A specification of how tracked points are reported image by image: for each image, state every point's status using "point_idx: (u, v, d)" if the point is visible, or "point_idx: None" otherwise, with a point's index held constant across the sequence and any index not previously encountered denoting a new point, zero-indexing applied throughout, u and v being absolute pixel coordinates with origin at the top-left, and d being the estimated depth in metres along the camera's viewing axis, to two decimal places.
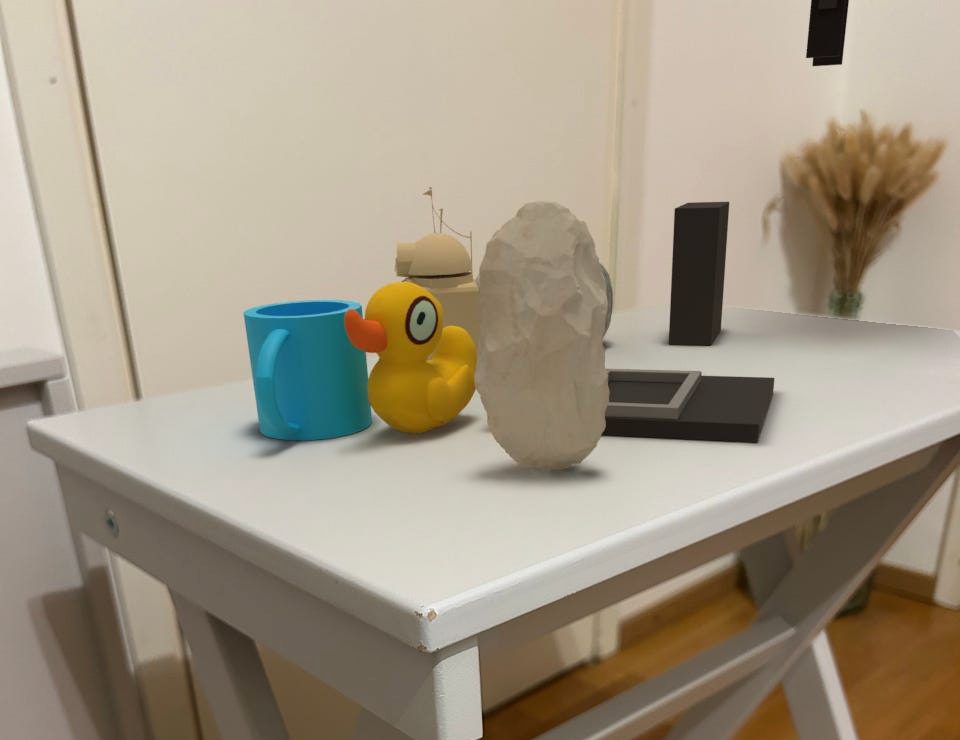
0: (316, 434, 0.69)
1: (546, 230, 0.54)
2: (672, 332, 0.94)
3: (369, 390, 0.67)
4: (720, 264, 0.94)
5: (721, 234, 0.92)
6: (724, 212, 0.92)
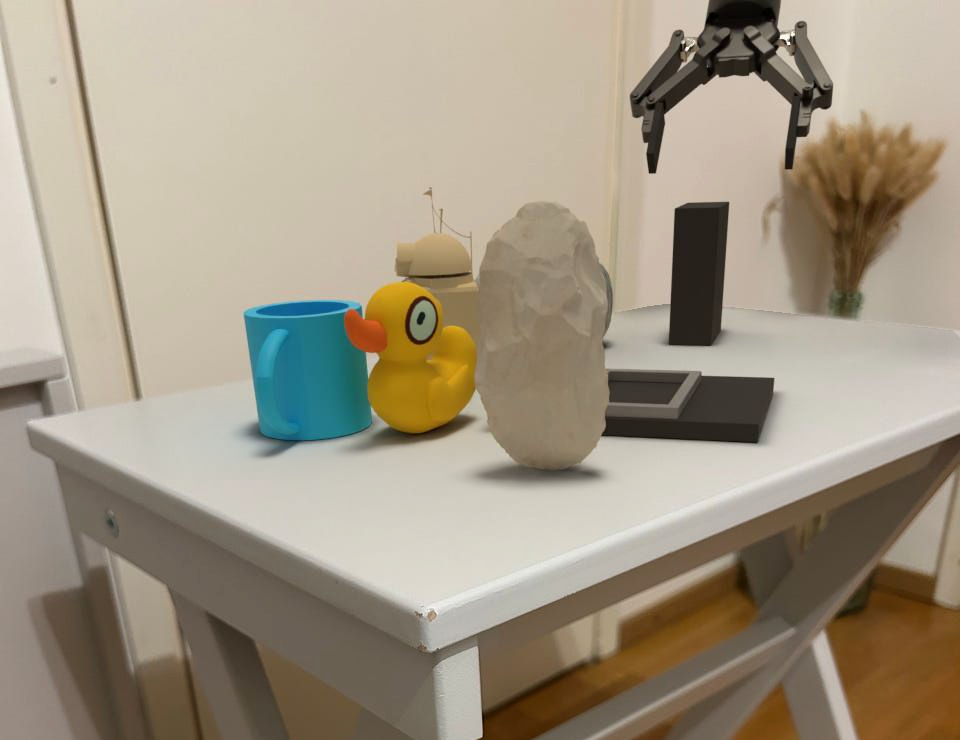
0: (316, 434, 0.69)
1: (546, 230, 0.54)
2: (672, 332, 0.94)
3: (369, 390, 0.67)
4: (720, 264, 0.94)
5: (721, 234, 0.92)
6: (724, 212, 0.92)
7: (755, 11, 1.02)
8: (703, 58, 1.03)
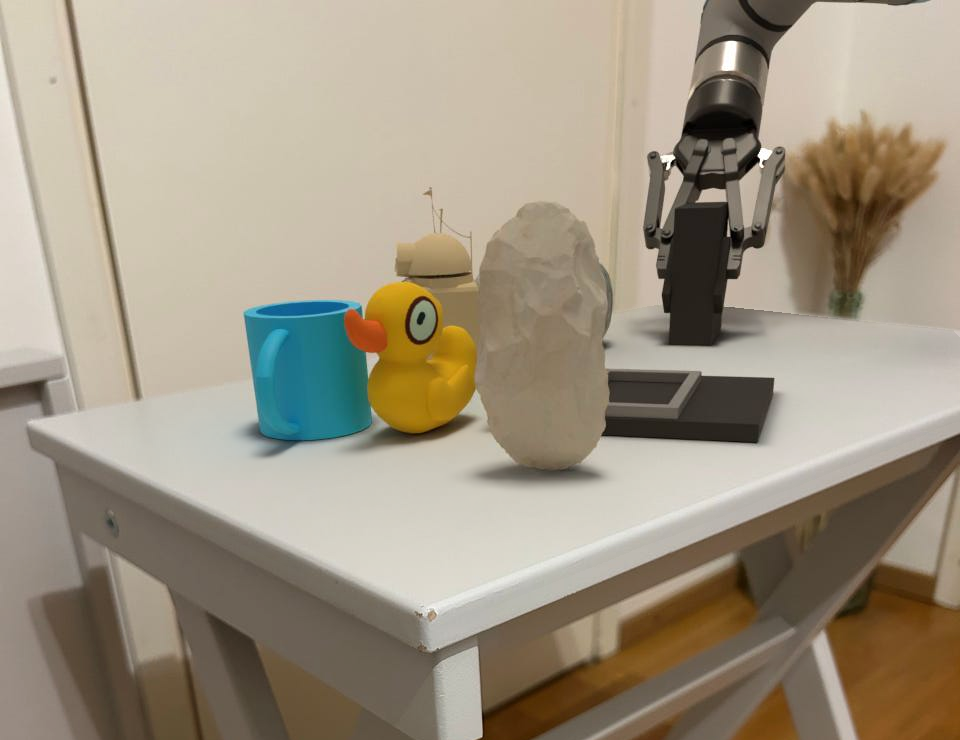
0: (316, 434, 0.69)
1: (546, 230, 0.54)
2: (672, 332, 0.94)
3: (369, 390, 0.67)
4: None
5: (721, 234, 0.92)
6: (724, 212, 0.92)
7: (735, 121, 0.96)
8: (696, 175, 0.96)
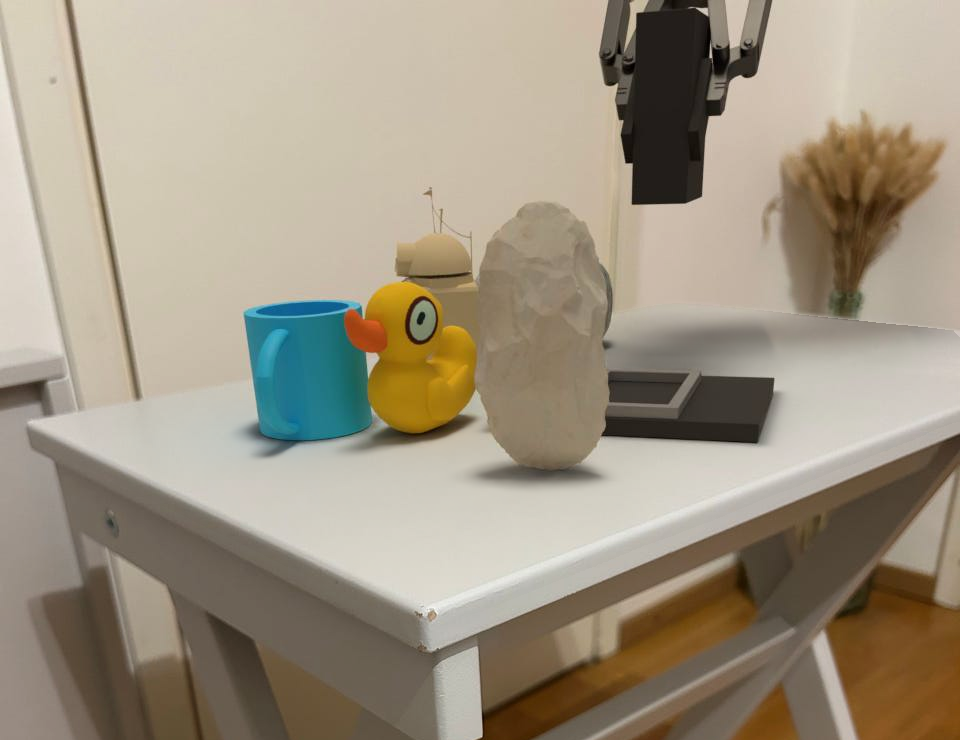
0: (316, 434, 0.69)
1: (546, 230, 0.54)
2: (636, 188, 0.72)
3: (369, 390, 0.67)
4: None
5: (699, 53, 0.70)
6: (703, 25, 0.70)
7: None
8: None
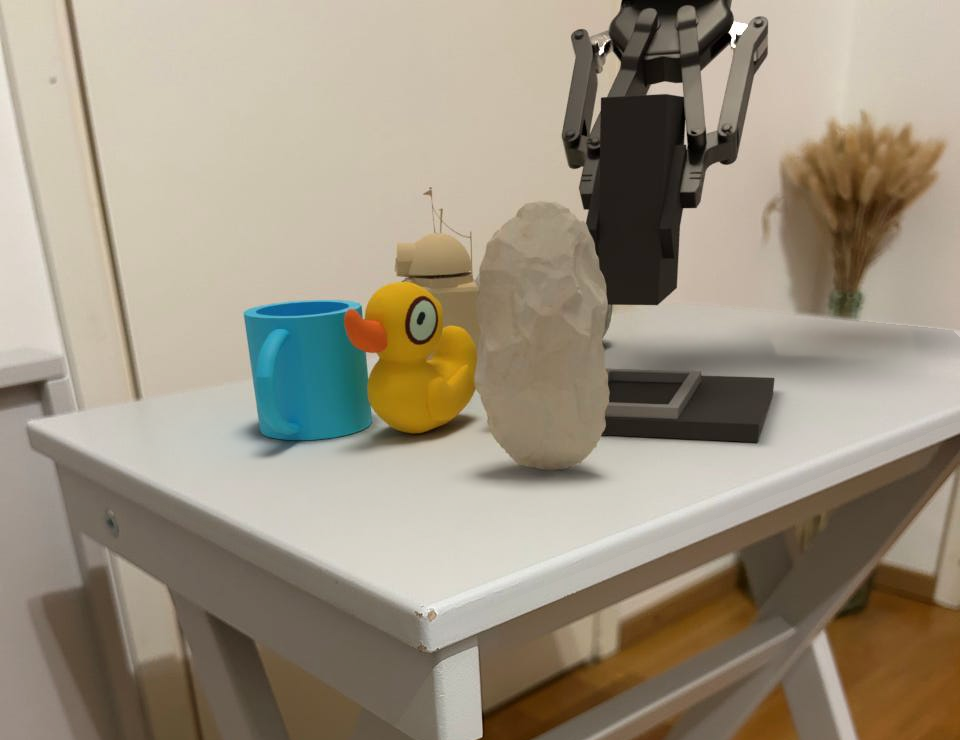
0: (316, 434, 0.69)
1: (546, 230, 0.54)
2: None
3: (369, 390, 0.67)
4: None
5: (672, 140, 0.62)
6: (677, 108, 0.63)
7: None
8: (638, 59, 0.66)
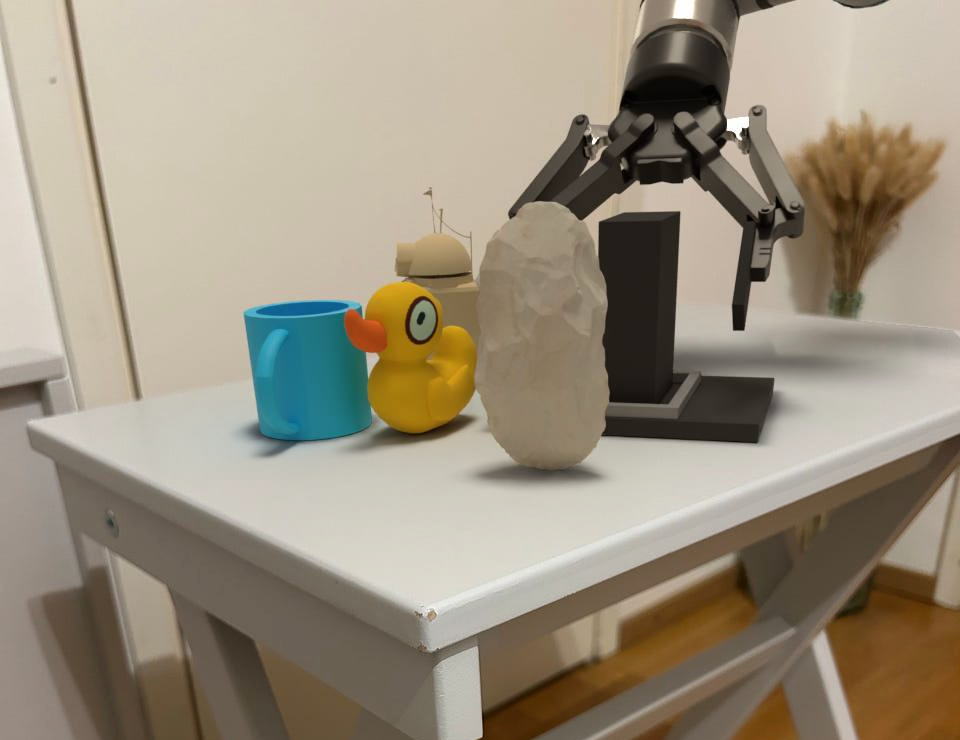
0: (316, 434, 0.69)
1: (546, 230, 0.54)
2: None
3: (369, 390, 0.67)
4: (667, 298, 0.67)
5: (667, 257, 0.65)
6: (671, 226, 0.66)
7: (691, 89, 0.69)
8: (614, 159, 0.69)
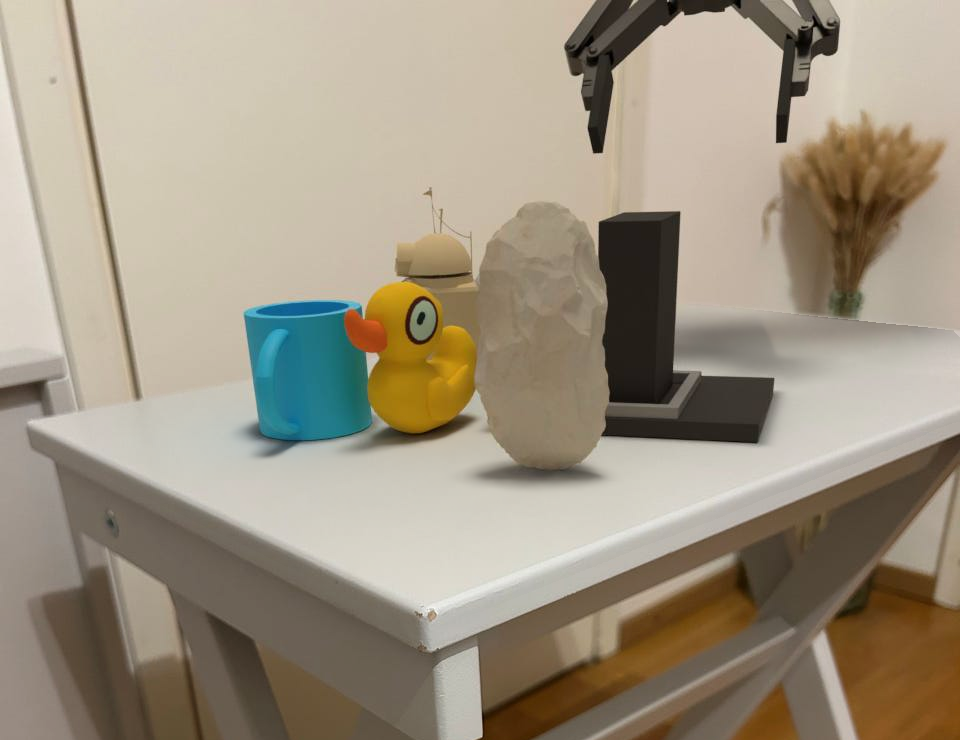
0: (316, 434, 0.69)
1: (546, 230, 0.54)
2: None
3: (369, 390, 0.67)
4: (667, 298, 0.67)
5: (667, 257, 0.65)
6: (671, 226, 0.66)
7: None
8: None
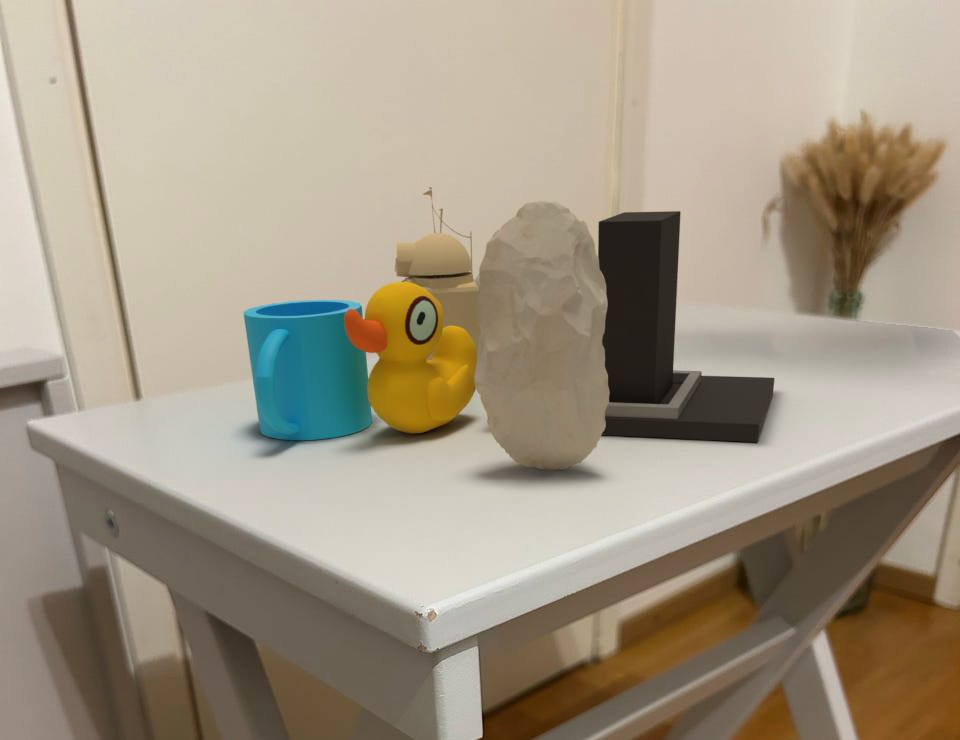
0: (316, 434, 0.69)
1: (546, 230, 0.54)
2: None
3: (369, 390, 0.67)
4: (667, 298, 0.67)
5: (667, 257, 0.65)
6: (671, 226, 0.66)
7: None
8: None
